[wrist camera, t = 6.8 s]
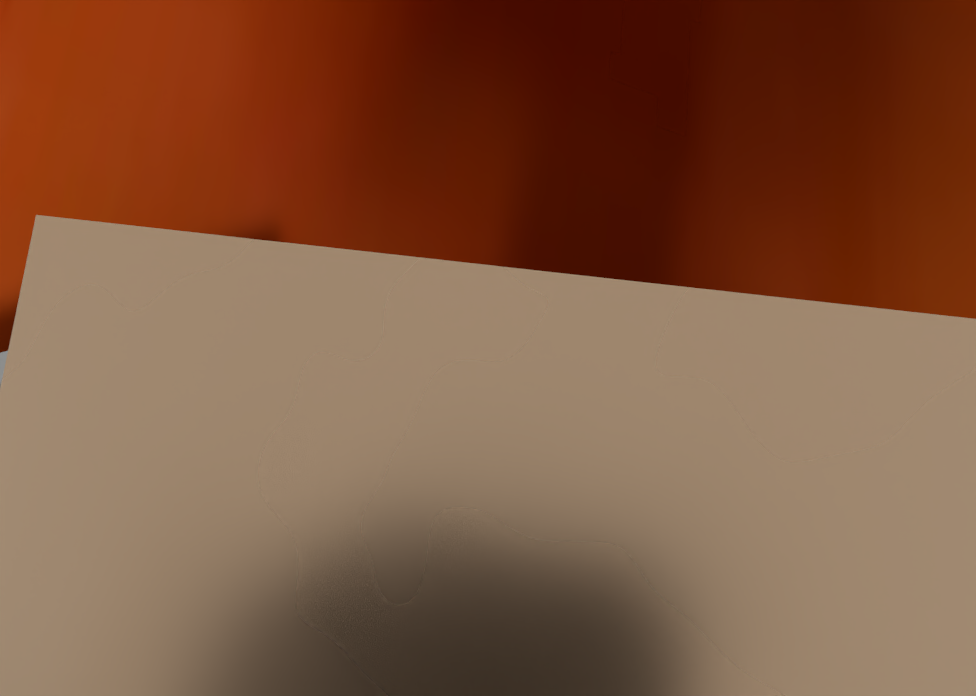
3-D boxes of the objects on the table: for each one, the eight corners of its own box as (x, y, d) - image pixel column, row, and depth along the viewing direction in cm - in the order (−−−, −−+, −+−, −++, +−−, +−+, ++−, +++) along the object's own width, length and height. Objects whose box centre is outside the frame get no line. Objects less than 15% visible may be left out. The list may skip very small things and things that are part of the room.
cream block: (672, 709, 15) (982, 1676, 3) (380, 652, 16) (-178, 1253, 4) (706, 406, 16) (1067, 329, 4) (423, 368, 17) (36, 214, 5)
